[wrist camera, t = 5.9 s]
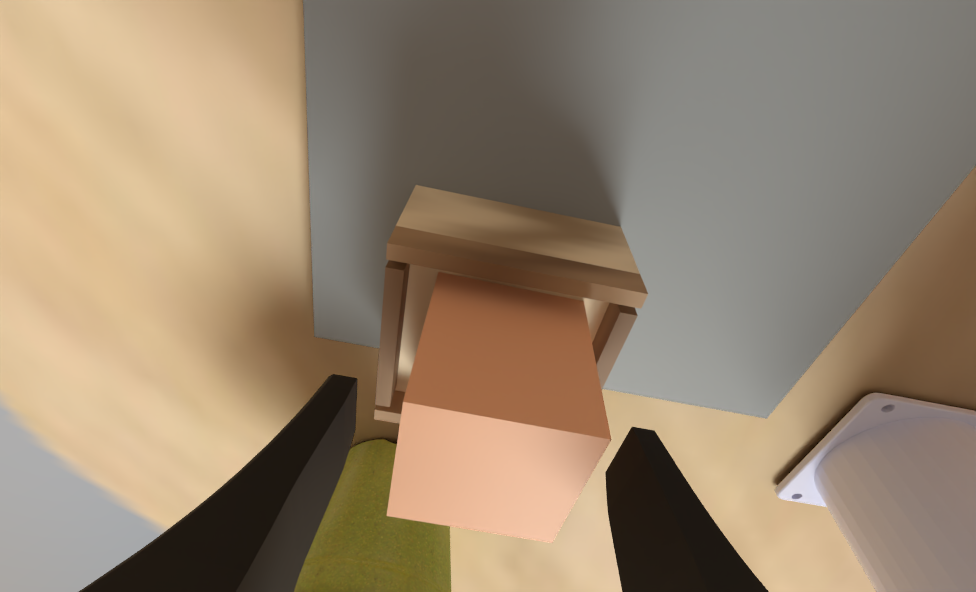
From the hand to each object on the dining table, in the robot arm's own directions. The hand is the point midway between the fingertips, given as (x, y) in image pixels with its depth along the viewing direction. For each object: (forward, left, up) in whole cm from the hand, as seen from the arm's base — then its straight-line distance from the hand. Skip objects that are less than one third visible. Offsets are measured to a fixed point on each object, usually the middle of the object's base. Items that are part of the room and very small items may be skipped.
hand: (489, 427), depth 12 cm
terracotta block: (0, 0, -3) cm, 3 cm away
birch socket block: (0, 0, -6) cm, 6 cm away
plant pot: (+3, +14, -8) cm, 16 cm away
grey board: (-3, -5, -7) cm, 9 cm away
